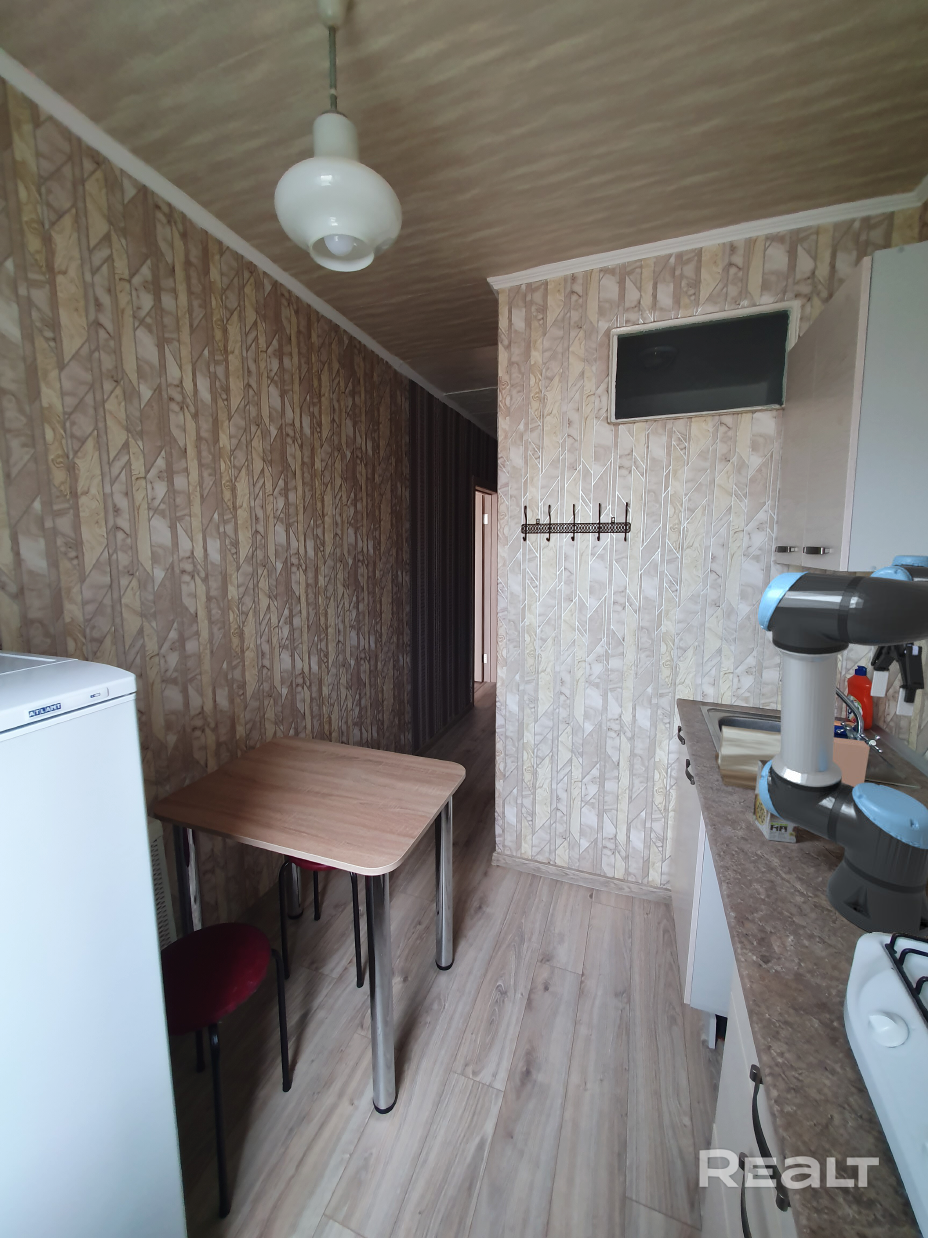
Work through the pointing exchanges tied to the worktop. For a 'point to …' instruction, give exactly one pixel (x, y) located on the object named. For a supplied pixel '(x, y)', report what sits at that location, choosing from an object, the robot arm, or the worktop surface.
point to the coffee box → (771, 817)
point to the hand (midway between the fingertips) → (890, 705)
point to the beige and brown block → (745, 754)
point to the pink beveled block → (851, 759)
